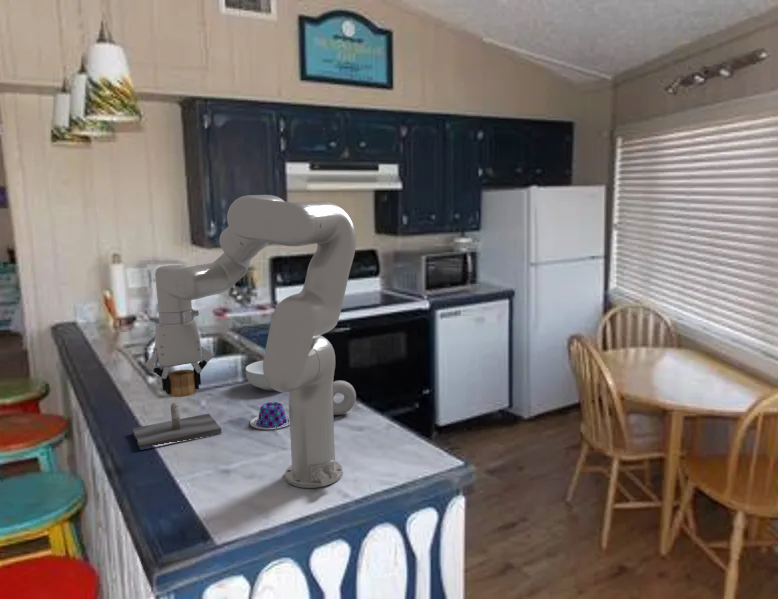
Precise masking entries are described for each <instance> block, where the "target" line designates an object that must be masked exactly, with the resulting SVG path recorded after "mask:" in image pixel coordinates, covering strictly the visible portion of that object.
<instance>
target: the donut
mask: <svg viewBox="0 0 778 599" xmlns="http://www.w3.org/2000/svg"><path fill="white" fill-rule="evenodd" d="M338 393H341V394H343V400H342V401H341V402H335V401H334V399H333V416H342V415H344V414H347V413H348V412H350V410H352V409H353V407H354V405H355V404H356V401H357V394H356V390H355V388H354V386H353V385H352V384H351V383H350V382H347V381H346V380H335V381H334V380H333V398H334V397H335V396H336V395H337V394H338Z"/></svg>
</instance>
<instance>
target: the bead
mask: <svg viewBox="0 0 778 599" xmlns="http://www.w3.org/2000/svg"><path fill="white" fill-rule="evenodd" d="M168 378H169V379H170V389H171V394H169V396H170V397H174V398H183V397H188V396H192V395H194V394H195V393H196V392H197V389H196V388H195V376H194V371H193V369H179V370H178V369H177V370H172V371H169V372H168Z"/></svg>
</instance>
